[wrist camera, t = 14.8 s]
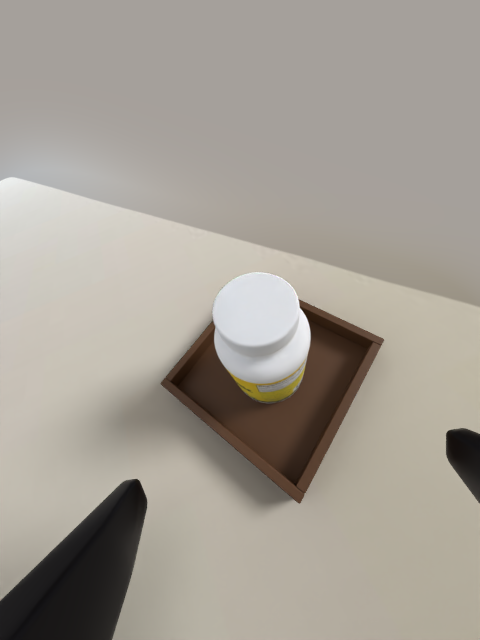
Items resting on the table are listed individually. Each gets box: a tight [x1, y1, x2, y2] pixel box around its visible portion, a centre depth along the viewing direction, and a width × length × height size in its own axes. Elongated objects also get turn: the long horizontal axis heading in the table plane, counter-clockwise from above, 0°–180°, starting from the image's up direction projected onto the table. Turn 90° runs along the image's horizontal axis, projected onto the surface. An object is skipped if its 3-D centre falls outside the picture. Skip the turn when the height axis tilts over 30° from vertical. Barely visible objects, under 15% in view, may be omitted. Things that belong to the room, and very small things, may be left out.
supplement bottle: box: [212, 272, 311, 403], centre depth 15 cm, size 5×5×10 cm
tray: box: [161, 299, 384, 504], centre depth 19 cm, size 12×12×2 cm
